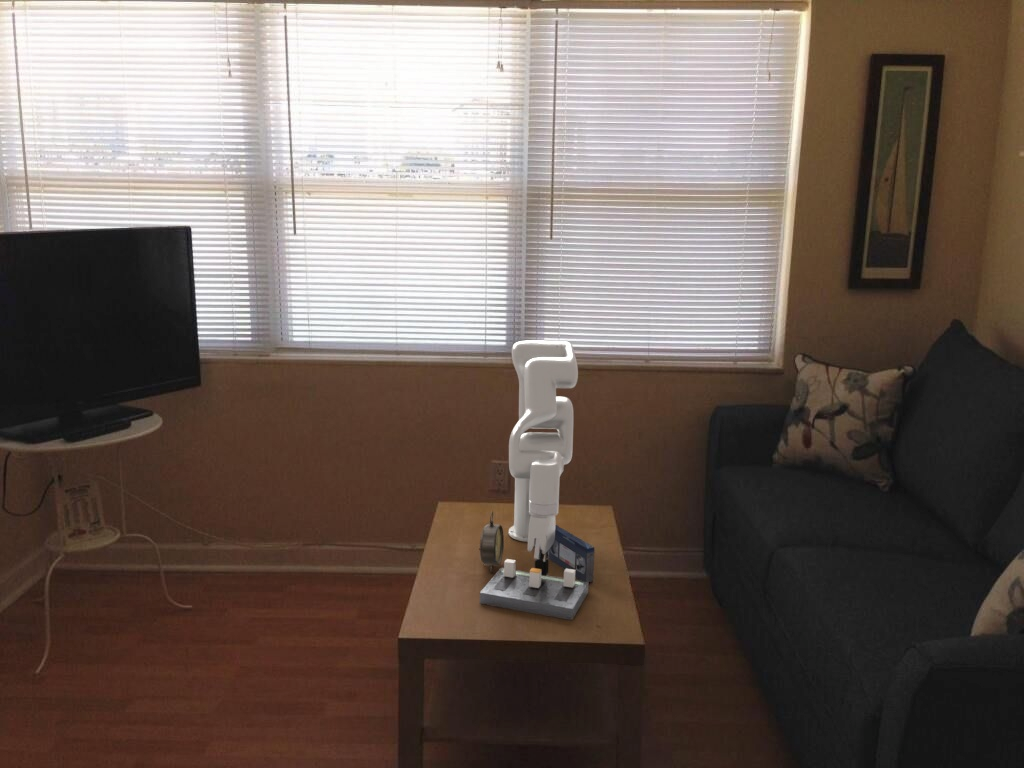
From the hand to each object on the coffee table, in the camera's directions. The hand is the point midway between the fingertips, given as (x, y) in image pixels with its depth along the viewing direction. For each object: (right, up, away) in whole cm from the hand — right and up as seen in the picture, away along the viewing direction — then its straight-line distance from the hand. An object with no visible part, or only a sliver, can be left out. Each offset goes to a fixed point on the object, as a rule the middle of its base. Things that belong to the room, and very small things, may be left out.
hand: (541, 573), depth 236 cm
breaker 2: (+7, -2, -4) cm, 8 cm away
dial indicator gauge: (-14, -1, +14) cm, 20 cm away
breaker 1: (-8, -1, +1) cm, 8 cm away
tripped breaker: (-2, -2, -5) cm, 6 cm away
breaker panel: (-2, -5, -4) cm, 7 cm away
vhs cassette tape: (+8, -2, +13) cm, 16 cm away
